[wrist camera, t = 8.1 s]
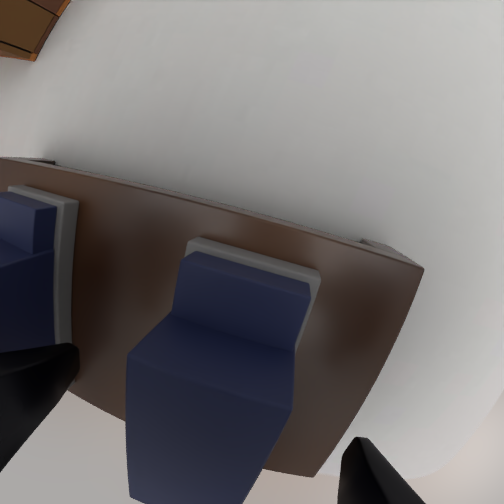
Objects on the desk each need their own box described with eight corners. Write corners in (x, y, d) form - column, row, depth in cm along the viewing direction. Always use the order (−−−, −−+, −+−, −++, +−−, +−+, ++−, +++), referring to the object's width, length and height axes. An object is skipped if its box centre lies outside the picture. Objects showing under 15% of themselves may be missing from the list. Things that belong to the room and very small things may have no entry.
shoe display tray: (391, 247, 13) (426, 268, 9) (312, 427, 15) (313, 478, 11) (41, 158, 14) (-8, 156, 10) (32, 317, 17) (-6, 338, 13)
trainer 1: (75, 383, 12) (22, 433, 8) (24, 350, 12) (-29, 385, 8) (80, 200, 10) (-13, 212, 6) (22, 184, 10) (-56, 190, 6)
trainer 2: (248, 454, 11) (230, 533, 7) (164, 427, 12) (124, 497, 7) (319, 270, 9) (337, 336, 5) (197, 235, 10) (123, 270, 5)
